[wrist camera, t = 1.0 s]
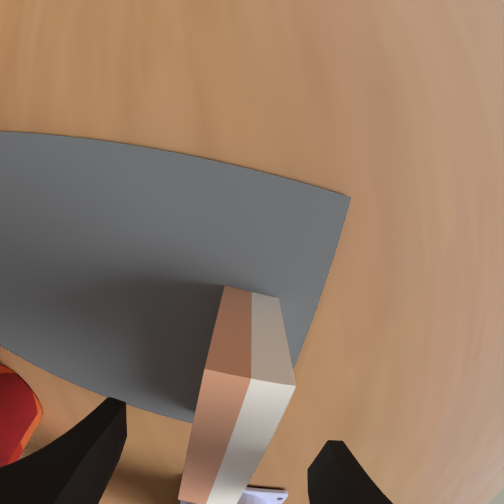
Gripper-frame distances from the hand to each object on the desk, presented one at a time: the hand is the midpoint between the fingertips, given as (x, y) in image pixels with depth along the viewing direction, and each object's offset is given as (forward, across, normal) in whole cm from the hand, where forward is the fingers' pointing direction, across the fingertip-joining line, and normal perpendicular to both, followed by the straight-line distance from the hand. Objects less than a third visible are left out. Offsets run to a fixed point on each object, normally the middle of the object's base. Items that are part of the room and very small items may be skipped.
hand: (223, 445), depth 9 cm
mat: (+6, +7, -2) cm, 9 cm away
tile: (+5, 0, 0) cm, 5 cm away
